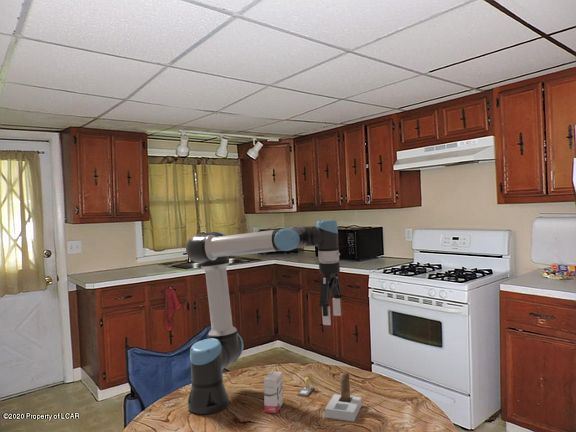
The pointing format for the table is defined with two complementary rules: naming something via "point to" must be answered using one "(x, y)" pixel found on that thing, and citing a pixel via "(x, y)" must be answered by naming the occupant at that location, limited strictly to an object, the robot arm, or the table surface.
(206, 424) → the table surface
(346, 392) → the walnut peg
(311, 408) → the table surface
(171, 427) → the table surface
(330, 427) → the table surface
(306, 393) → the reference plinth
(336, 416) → the socket board
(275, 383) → the ink box
